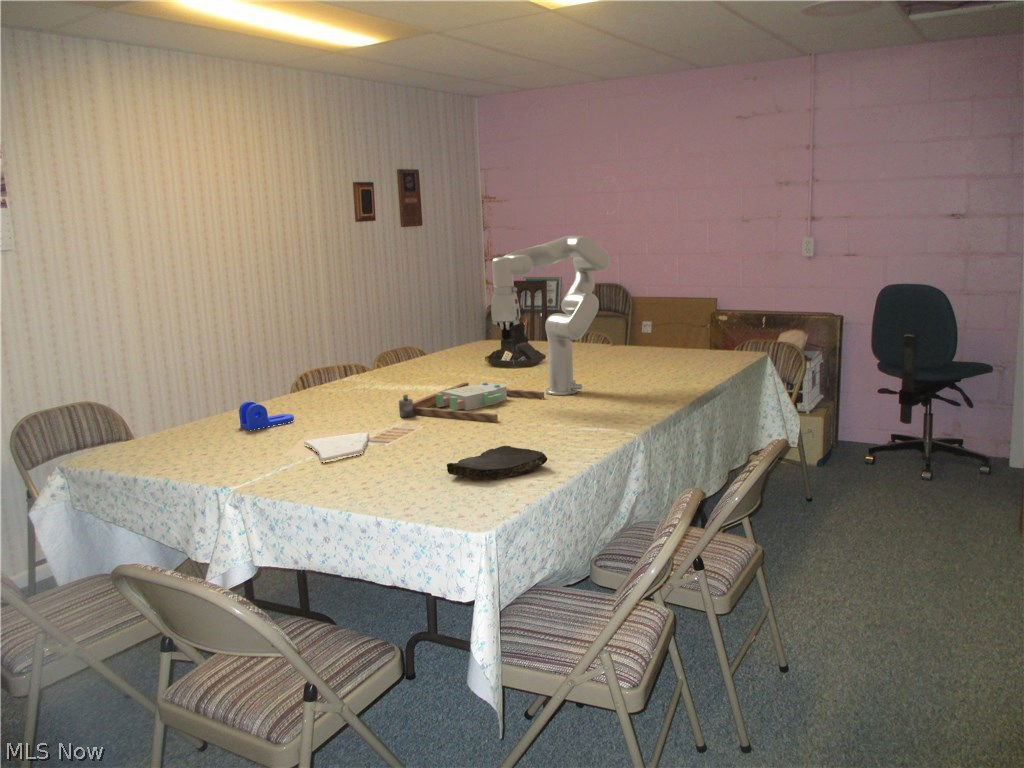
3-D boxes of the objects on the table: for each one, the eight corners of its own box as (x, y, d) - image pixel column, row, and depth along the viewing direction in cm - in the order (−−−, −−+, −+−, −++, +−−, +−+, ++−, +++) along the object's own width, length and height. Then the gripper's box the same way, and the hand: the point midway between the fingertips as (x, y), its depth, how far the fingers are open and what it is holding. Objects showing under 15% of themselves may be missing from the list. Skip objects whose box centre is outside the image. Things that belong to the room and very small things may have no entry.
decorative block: (480, 379, 331) (513, 386, 316) (480, 395, 332) (514, 402, 318) (428, 390, 314) (461, 397, 299) (429, 406, 315) (462, 414, 301)
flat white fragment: (304, 450, 267) (318, 467, 245) (303, 440, 267) (317, 456, 244) (368, 438, 275) (387, 454, 253) (366, 428, 275) (386, 443, 252)
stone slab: (440, 487, 230) (486, 489, 215) (436, 464, 230) (482, 464, 215) (508, 464, 247) (555, 464, 233) (504, 442, 247) (550, 441, 232)
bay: (544, 398, 321) (543, 378, 319) (487, 426, 282) (486, 403, 280) (461, 391, 338) (460, 372, 337) (397, 417, 299) (395, 395, 297)
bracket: (250, 431, 287) (247, 406, 285) (240, 427, 293) (238, 403, 291) (298, 422, 298) (295, 397, 296) (287, 418, 304) (285, 394, 303)
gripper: (526, 289, 306) (529, 338, 310) (490, 289, 312) (493, 337, 316) (518, 292, 299) (520, 341, 303) (481, 292, 305) (484, 341, 309)
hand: (507, 339), depth 309 cm, fingers closed
